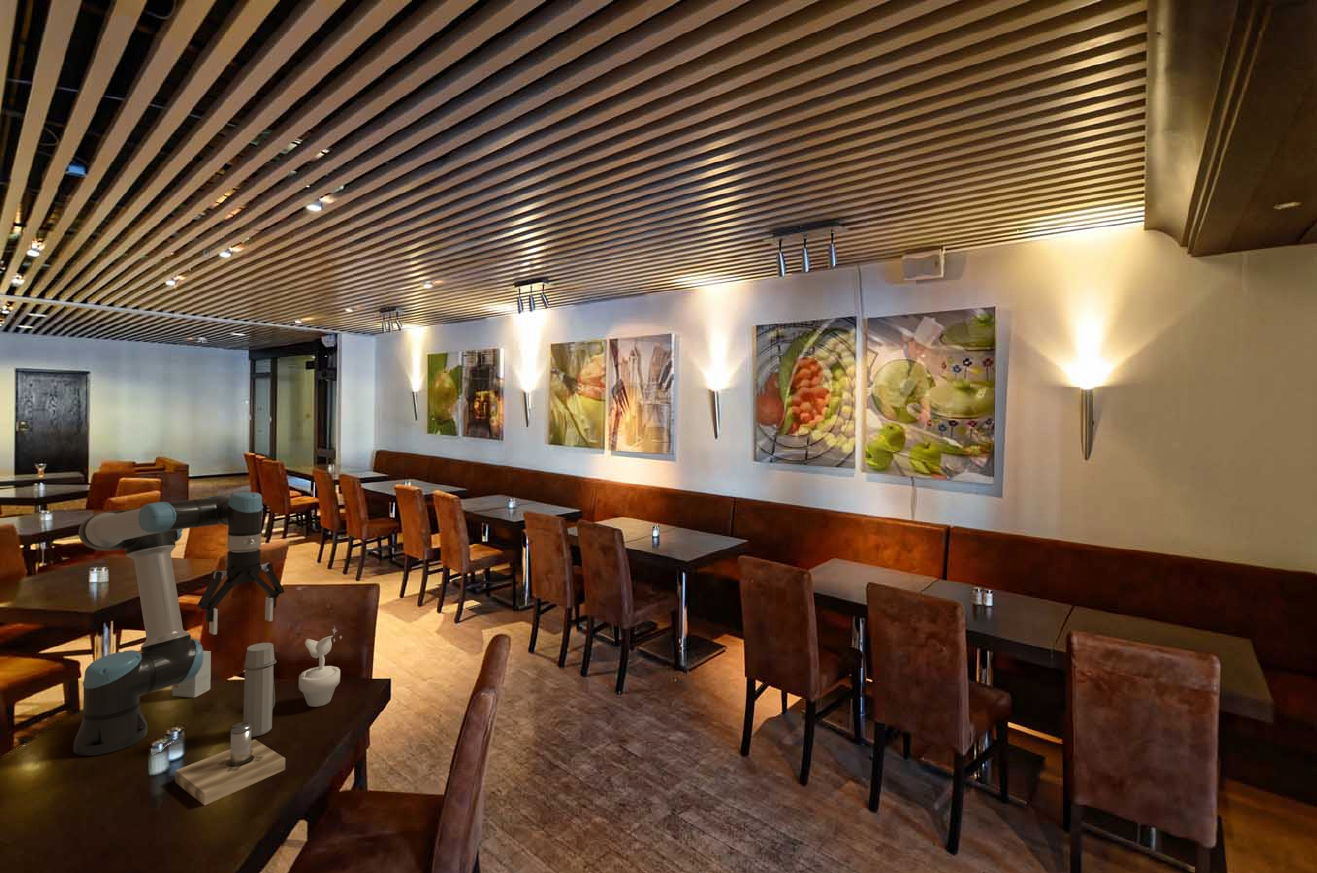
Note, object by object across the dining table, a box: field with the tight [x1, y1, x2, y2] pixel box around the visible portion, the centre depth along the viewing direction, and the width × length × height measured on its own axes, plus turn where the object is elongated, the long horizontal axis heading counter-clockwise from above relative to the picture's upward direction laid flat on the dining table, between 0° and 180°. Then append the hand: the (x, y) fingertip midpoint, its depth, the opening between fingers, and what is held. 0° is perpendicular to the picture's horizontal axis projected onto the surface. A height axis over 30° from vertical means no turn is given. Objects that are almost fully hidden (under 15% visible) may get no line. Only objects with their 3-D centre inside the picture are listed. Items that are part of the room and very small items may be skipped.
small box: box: [171, 650, 212, 699], centre depth 196 cm, size 8×6×13 cm
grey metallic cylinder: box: [230, 721, 252, 767], centre depth 154 cm, size 4×4×12 cm
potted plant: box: [298, 625, 343, 708], centre depth 193 cm, size 13×12×25 cm
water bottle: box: [242, 642, 277, 738], centre depth 174 cm, size 9×8×25 cm
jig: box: [174, 739, 286, 806], centre depth 152 cm, size 16×18×3 cm
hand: (241, 626), depth 164 cm, fingers open, 13 cm apart
